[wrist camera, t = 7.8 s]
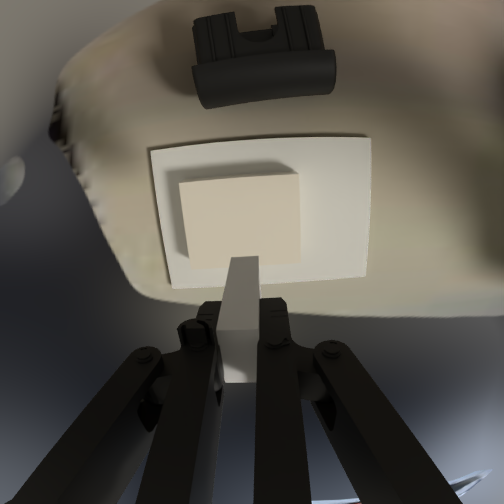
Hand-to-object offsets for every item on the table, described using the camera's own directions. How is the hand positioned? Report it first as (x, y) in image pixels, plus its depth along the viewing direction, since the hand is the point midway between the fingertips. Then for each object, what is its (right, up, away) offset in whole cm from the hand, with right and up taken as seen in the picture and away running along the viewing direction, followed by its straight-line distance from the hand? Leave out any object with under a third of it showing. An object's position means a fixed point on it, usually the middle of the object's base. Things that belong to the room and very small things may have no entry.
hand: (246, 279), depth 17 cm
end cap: (+1, +18, +7) cm, 19 cm away
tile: (-1, +4, +10) cm, 11 cm away
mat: (+2, +5, +12) cm, 13 cm away
